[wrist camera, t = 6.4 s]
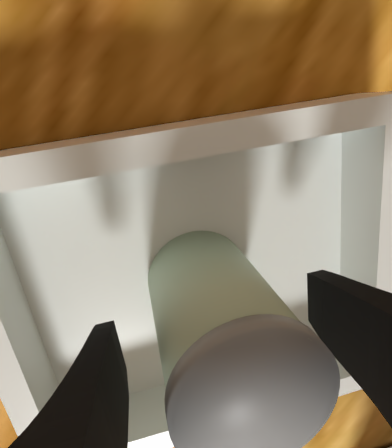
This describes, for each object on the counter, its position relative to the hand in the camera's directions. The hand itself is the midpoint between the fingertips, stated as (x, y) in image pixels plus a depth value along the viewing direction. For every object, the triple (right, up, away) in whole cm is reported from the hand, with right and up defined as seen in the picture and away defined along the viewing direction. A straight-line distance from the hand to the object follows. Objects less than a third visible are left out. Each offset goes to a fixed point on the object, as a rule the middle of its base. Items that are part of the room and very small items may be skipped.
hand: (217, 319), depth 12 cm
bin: (-1, +1, +4) cm, 4 cm away
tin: (-1, +1, +3) cm, 3 cm away
